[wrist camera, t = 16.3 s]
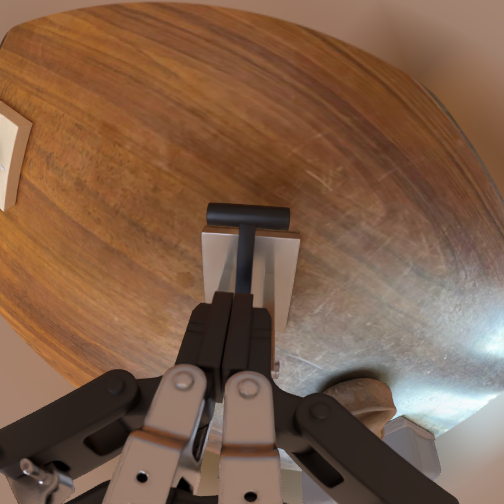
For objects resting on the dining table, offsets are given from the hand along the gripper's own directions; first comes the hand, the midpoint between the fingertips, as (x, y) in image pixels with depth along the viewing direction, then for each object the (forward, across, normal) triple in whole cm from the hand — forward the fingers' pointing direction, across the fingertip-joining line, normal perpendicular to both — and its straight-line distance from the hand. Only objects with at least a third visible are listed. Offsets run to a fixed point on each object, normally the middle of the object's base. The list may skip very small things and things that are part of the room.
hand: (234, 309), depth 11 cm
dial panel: (+15, +33, -6) cm, 37 cm away
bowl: (+15, -19, +32) cm, 40 cm away
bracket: (+15, 0, +10) cm, 18 cm away
